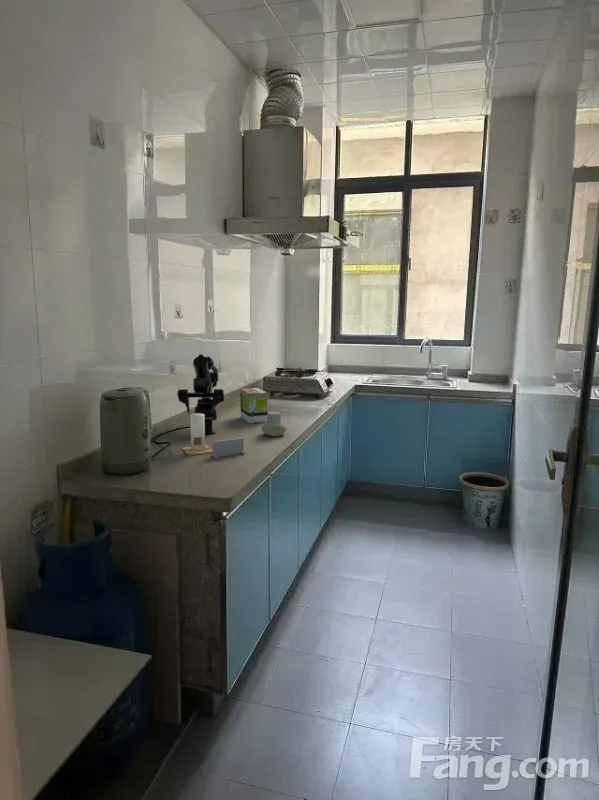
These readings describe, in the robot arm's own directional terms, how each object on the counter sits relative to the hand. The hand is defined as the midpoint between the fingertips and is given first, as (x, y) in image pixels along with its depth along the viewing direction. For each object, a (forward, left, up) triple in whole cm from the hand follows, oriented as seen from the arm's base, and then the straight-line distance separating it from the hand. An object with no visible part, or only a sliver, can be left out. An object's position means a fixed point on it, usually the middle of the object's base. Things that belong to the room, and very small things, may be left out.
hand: (199, 412), depth 218 cm
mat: (+8, -3, -14) cm, 16 cm away
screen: (+18, +6, -14) cm, 23 cm away
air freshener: (-1, +34, -14) cm, 36 cm away
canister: (+8, -3, -13) cm, 15 cm away
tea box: (-32, +37, -14) cm, 51 cm away
